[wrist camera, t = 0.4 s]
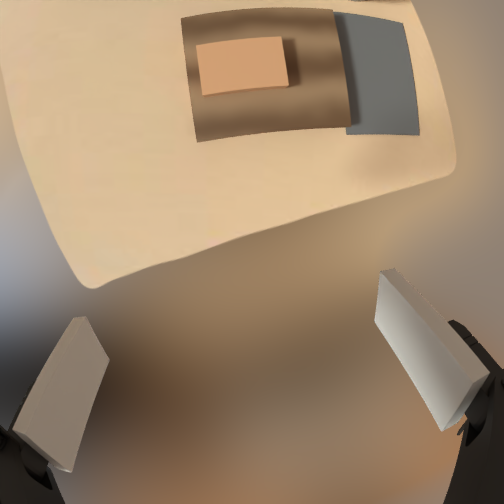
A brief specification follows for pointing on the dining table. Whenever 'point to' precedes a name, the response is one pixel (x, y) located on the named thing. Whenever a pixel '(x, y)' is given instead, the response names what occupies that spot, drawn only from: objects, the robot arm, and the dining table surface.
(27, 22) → the dining table surface
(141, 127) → the dining table surface
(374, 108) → the mat
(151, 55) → the dining table surface
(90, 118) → the dining table surface
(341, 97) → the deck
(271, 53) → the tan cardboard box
